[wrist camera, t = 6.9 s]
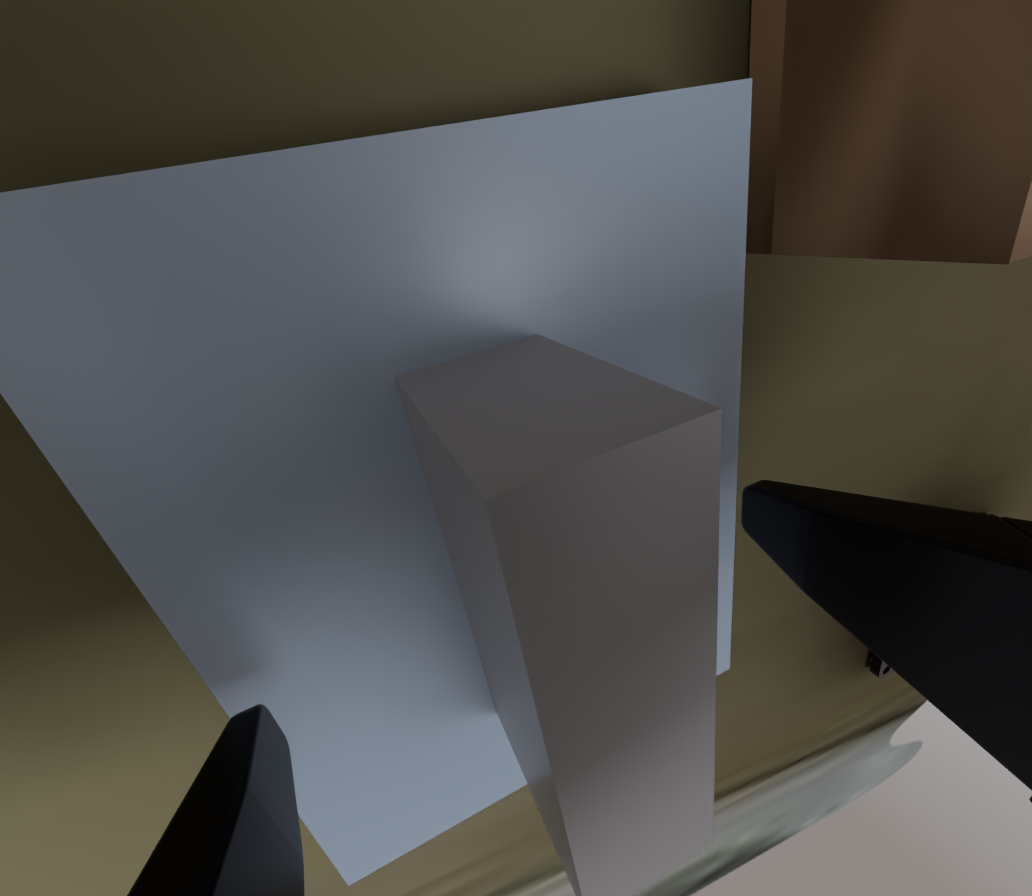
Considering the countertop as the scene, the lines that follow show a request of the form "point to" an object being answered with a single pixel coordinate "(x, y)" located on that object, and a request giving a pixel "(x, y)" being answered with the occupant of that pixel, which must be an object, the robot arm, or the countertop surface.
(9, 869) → the countertop surface
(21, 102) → the countertop surface
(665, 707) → the lid
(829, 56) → the box
